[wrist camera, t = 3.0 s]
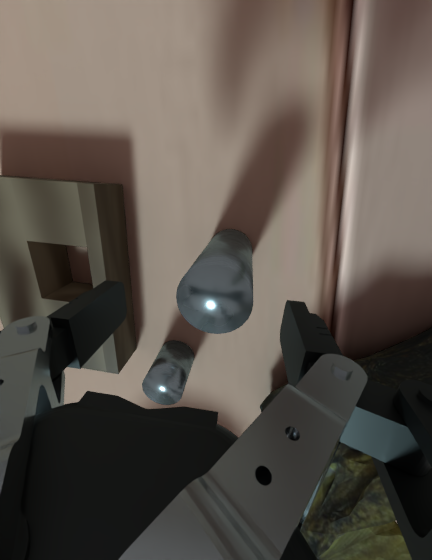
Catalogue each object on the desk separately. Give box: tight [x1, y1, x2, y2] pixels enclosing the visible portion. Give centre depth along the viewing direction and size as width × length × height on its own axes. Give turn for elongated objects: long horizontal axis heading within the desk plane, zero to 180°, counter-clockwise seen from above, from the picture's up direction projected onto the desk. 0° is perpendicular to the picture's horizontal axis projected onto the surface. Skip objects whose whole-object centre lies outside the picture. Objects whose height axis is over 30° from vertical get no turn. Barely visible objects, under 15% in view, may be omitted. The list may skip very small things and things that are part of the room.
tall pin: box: [176, 229, 253, 334], centre depth 16 cm, size 4×4×10 cm
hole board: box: [0, 175, 136, 374], centre depth 18 cm, size 12×18×14 cm, turn 176°
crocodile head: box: [260, 328, 432, 560], centre depth 18 cm, size 27×17×15 cm
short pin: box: [142, 340, 194, 405], centre depth 24 cm, size 4×4×5 cm
